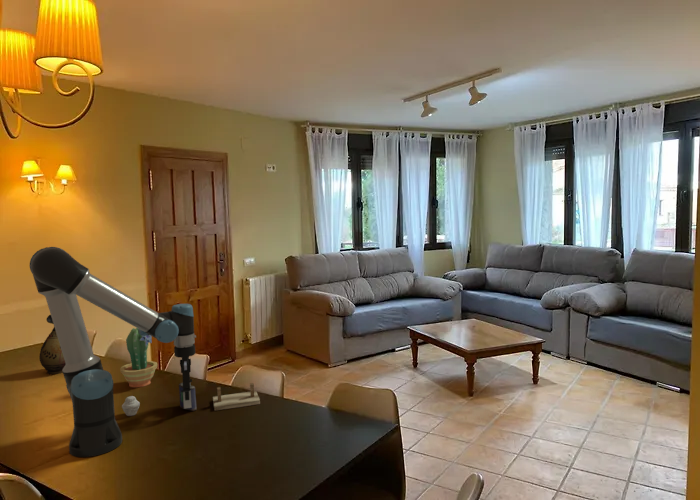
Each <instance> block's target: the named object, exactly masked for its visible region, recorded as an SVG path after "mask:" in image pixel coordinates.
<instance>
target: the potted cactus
mask: <svg viewBox="0 0 700 500" xmlns="http://www.w3.org/2000/svg"><path fill="white" fill-rule="evenodd" d="M152 337H153V336H151V335H149V336H141V335H140V334H139V330H138V328H136V327H133V328H132V329H131V330H130V331H129V333H128V335H127V337H126V339H125V344H126V348H127V352H128V354H129V357H130V363H127V364H124V365H122V366H121V367H120V368H119V369H120V373H121V374H122V375H123V377H124V379H125V380H126V381H127V383H128V385H129V387H130V388H142V387H147V386H149V385H150V384H151V383H152V382H151V380H152V378H153V377H154V375H155V371H156V369H157V368H158V362H156V361H152V360H148V357H147V356H148V353H147V351H148V348H149V344H152V342H153V341H152V339H153V338H152Z"/></svg>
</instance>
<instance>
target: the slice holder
mask: <svg viewBox="0 0 700 500" xmlns="http://www.w3.org/2000/svg"><path fill="white" fill-rule="evenodd" d="M249 387H250V388H249V390H250V391H247V392H246V391H244V392H238V393H237V392H236V393H231V394H224V395H223V394H222V389H221V386H218V387H216V389H217V392H216V393H217V395H215V396H212V401H213V402H212V403H213V409H214V412H215V411H221V410H228V409H229V410H230V409H236V408H243V407H248V406H255V405H257V406H258V405H260V404H261V398H260V396H259V395H258V392H257V390H255V385H254V382H250V383H249Z"/></svg>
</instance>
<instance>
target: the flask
mask: <svg viewBox="0 0 700 500" xmlns="http://www.w3.org/2000/svg"><path fill="white" fill-rule="evenodd" d="M190 389H191V406H192V408H186V409H184V401H183V392H181V390H183V382H180V383H179V384H178V391H179V392H178V393H179V406H180V408H181V409H182V410H186V411H189V412H195V411H197V398H196V387H195V386H194V385H190Z"/></svg>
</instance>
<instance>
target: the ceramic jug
mask: <svg viewBox="0 0 700 500" xmlns="http://www.w3.org/2000/svg"><path fill="white" fill-rule="evenodd" d="M46 322H47V323H49V324H52V325H54V323H53V320H52V317H51V314H49V315H47V317H46ZM39 352H40V353H39V356H38V357H39V362H40V364H41V367H42V368H44V369H45V370H46V374H49V375H56V374H63V371H62V370H63V368H64V366H65V365H66V363H65V359H64V356H63V353H62V350H61V346H60V343H59V340H58V337H57V333H56V330H55V327H54V326H53V327H52V329H51V331H50V333H49V334H48V336H47V337H46V338H45V340H44V342H43V344H42V346H41V348H40V350H39Z"/></svg>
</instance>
